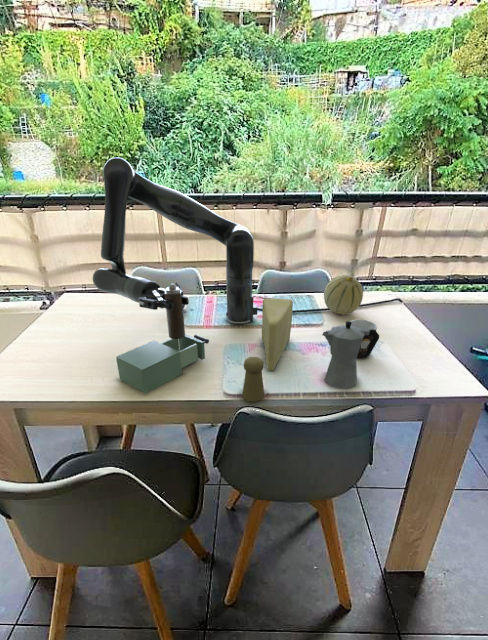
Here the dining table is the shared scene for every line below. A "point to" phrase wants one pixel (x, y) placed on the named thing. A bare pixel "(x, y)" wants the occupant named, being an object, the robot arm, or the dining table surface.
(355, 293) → the cantaloupe
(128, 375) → the cabinet
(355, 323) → the coffee mug
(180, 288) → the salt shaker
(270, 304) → the cheese
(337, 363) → the coffeepot
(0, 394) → the dining table surface
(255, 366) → the olive rounded tall piece
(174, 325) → the pepper mill
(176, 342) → the drawer
